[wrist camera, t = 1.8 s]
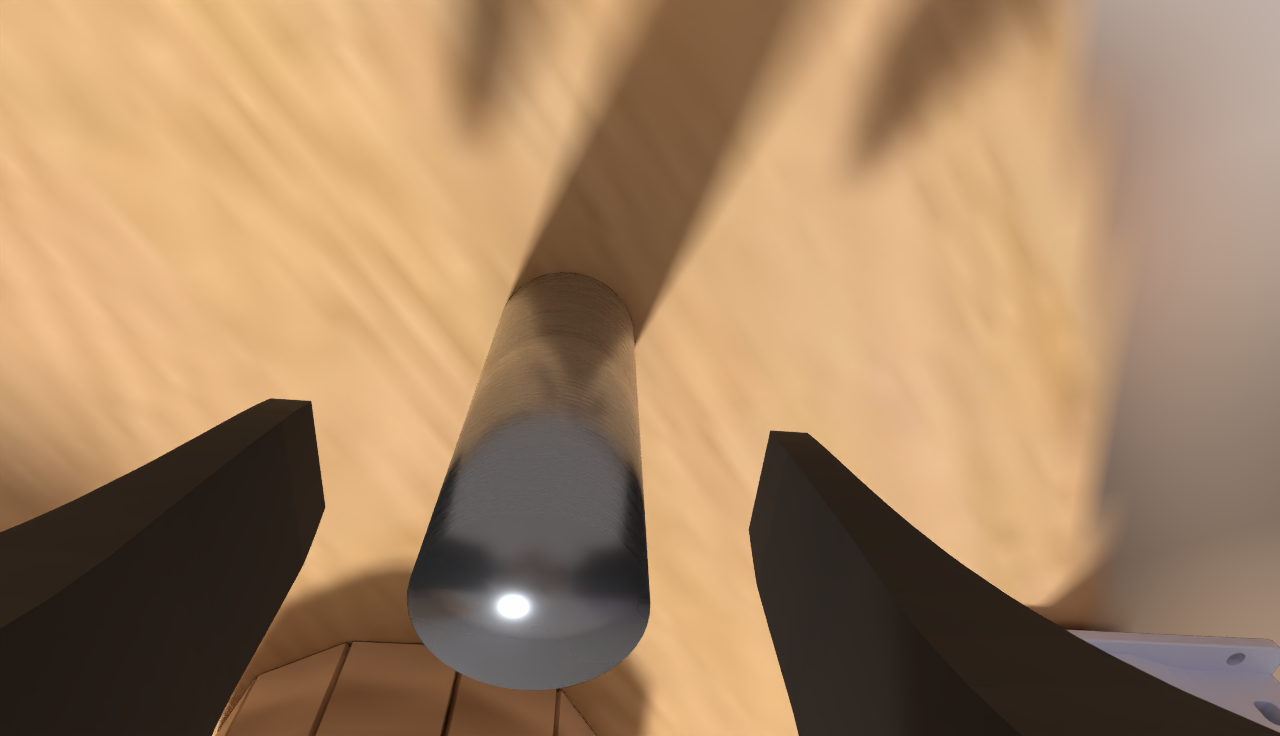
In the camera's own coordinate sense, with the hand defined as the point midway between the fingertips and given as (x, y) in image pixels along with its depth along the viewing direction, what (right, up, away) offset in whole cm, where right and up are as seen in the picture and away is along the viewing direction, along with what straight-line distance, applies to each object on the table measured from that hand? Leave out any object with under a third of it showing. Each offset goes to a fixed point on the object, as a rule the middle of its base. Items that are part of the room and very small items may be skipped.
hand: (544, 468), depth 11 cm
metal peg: (0, +2, +5) cm, 5 cm away
